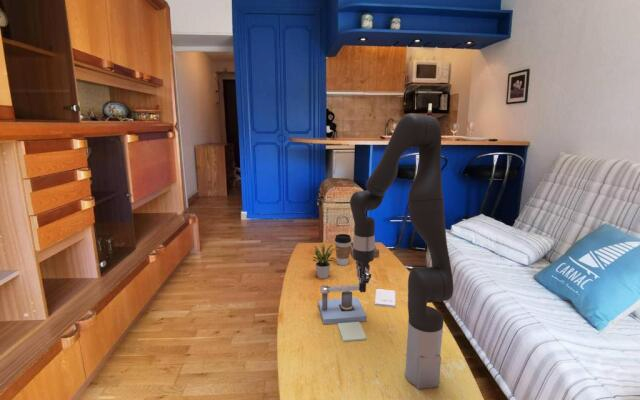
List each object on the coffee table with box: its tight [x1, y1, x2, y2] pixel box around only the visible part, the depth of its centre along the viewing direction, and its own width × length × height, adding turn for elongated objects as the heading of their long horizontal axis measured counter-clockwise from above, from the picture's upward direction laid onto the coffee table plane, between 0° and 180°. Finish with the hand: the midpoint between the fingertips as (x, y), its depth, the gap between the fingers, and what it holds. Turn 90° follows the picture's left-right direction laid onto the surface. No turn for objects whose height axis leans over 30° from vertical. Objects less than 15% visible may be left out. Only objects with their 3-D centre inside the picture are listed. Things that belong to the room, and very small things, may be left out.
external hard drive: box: [374, 288, 397, 308], centre depth 144 cm, size 2×8×12 cm
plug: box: [341, 291, 353, 312], centre depth 133 cm, size 5×5×8 cm
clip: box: [319, 283, 359, 294], centre depth 132 cm, size 4×16×2 cm, turn 98°
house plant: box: [311, 242, 336, 279], centre depth 164 cm, size 14×14×16 cm
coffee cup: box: [334, 233, 352, 266], centre depth 179 cm, size 8×8×15 cm
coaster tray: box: [349, 242, 380, 259], centre depth 194 cm, size 14×14×4 cm
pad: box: [337, 322, 368, 343], centre depth 122 cm, size 10×8×1 cm
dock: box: [317, 293, 368, 325], centre depth 133 cm, size 14×16×9 cm
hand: (362, 291), depth 127 cm, fingers closed
